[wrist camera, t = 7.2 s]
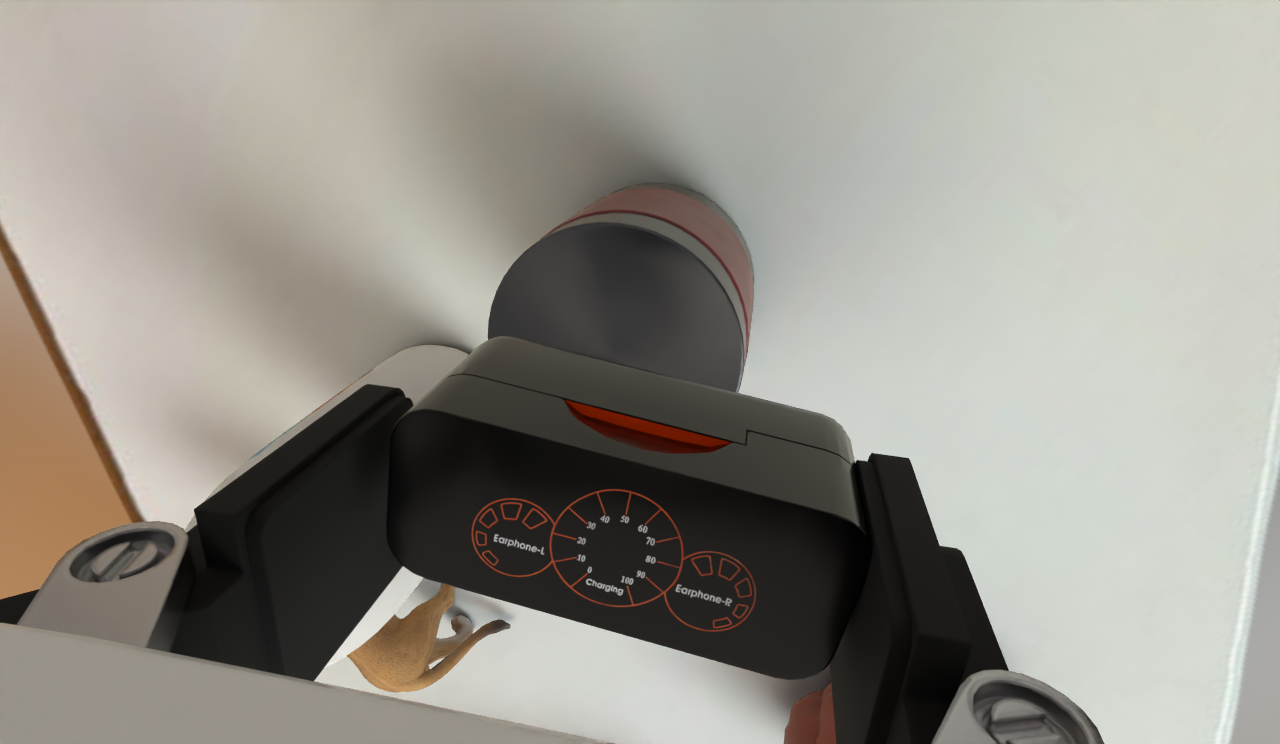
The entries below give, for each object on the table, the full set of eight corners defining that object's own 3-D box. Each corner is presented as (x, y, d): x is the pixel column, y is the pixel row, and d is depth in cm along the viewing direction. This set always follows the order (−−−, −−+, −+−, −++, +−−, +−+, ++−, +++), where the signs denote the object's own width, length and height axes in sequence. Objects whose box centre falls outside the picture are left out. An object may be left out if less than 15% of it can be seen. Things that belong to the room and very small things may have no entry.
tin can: (565, 171, 29) (482, 206, 21) (768, 191, 28) (764, 236, 20) (560, 358, 33) (487, 450, 25) (741, 383, 32) (728, 488, 23)
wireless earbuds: (441, 306, 12) (332, 382, 9) (859, 409, 11) (888, 528, 8) (426, 524, 14) (331, 646, 11) (781, 622, 13) (783, 780, 10)
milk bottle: (441, 308, 33) (25, 589, 15) (552, 426, 34) (296, 817, 16) (347, 398, 36) (-96, 724, 18) (453, 504, 37) (142, 908, 19)
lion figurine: (272, 536, 41) (144, 651, 32) (289, 467, 38) (156, 571, 30) (500, 647, 41) (429, 790, 32) (530, 584, 38) (463, 721, 30)
